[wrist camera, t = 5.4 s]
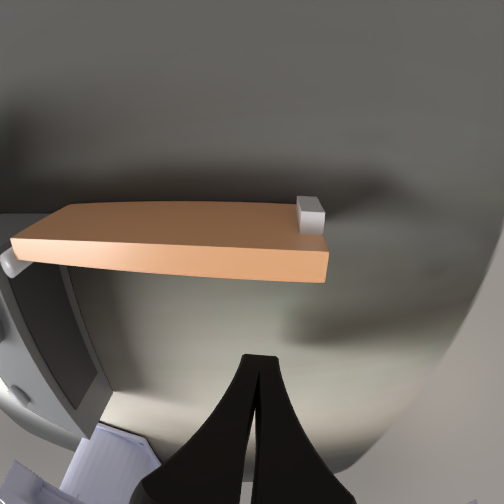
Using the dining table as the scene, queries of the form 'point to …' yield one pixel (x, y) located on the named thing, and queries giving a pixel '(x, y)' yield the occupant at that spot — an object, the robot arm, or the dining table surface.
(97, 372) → the housing
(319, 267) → the hatch
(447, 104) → the dining table surface
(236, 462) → the robot arm
